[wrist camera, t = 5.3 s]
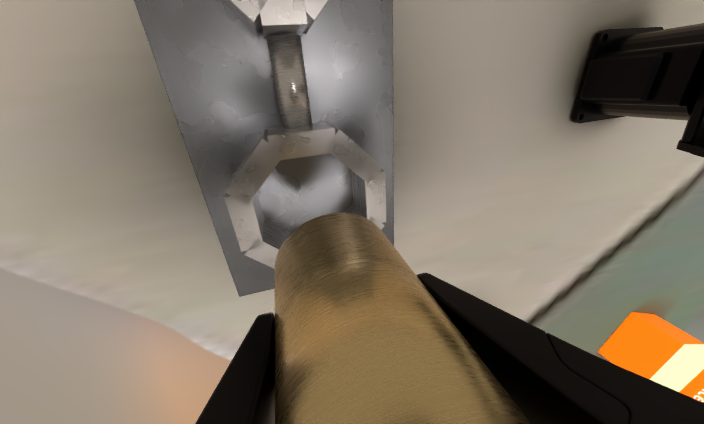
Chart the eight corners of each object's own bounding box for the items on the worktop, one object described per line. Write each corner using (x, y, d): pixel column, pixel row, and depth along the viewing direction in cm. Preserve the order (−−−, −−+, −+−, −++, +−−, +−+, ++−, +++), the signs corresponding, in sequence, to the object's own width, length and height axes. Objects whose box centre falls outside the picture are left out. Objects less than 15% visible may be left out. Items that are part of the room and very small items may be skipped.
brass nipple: (388, 202, 9) (743, 543, 2) (389, 295, 11) (583, 634, 4) (261, 226, 8) (197, 922, 1) (287, 322, 10) (314, 813, 3)
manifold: (378, -184, 12) (430, -322, 8) (386, 249, 22) (411, 283, 18) (67, -230, 9) (-83, -464, 5) (241, 283, 20) (233, 330, 16)
